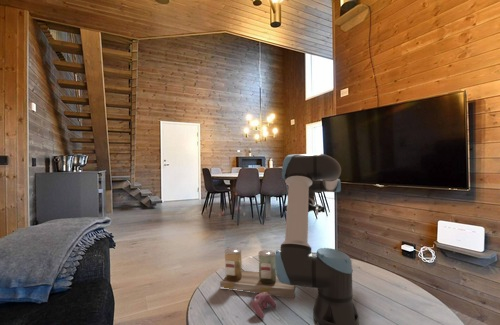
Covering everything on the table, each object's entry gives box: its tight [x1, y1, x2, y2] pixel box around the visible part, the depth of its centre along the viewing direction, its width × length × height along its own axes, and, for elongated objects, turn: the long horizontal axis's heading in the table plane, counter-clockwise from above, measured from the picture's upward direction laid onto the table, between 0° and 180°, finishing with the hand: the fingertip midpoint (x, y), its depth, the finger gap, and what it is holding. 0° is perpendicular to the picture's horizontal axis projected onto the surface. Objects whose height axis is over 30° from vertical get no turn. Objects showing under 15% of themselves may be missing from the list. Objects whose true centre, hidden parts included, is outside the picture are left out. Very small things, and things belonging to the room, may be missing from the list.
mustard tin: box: [224, 247, 243, 281], centre depth 117 cm, size 8×8×12 cm
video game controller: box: [250, 292, 277, 319], centre depth 94 cm, size 10×5×7 cm, turn 142°
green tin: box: [258, 249, 276, 285], centre depth 113 cm, size 8×8×12 cm
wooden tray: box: [219, 270, 296, 298], centre depth 114 cm, size 16×32×3 cm, turn 76°
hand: (301, 211), depth 119 cm, fingers open, 13 cm apart
